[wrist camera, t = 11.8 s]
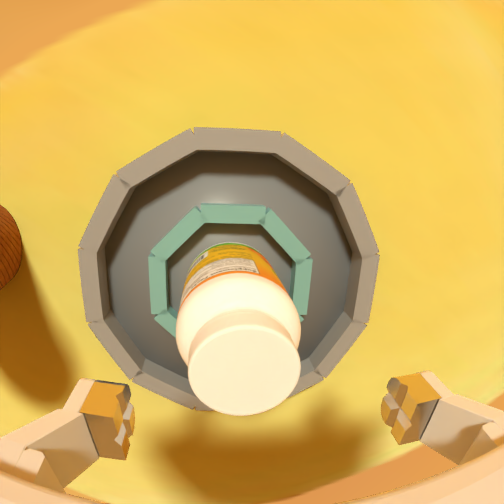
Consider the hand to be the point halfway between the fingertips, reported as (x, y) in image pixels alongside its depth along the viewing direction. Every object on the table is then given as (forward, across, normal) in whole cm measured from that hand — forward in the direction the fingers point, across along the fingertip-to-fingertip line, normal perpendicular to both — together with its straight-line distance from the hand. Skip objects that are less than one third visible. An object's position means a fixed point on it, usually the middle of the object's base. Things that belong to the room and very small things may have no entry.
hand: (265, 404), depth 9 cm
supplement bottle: (+12, +1, 0) cm, 12 cm away
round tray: (+12, +1, 0) cm, 12 cm away
